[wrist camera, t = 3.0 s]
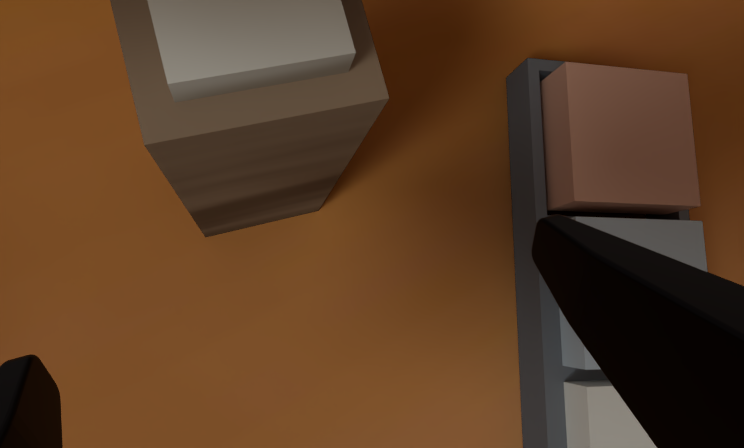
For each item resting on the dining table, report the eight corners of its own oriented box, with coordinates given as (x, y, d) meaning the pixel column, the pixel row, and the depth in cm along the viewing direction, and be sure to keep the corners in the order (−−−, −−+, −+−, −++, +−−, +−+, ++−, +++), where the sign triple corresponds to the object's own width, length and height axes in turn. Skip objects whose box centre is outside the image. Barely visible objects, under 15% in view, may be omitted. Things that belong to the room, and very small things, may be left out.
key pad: (682, 526, 23) (755, 563, 20) (527, 541, 22) (577, 584, 18) (644, 90, 26) (701, 57, 23) (506, 77, 25) (545, 40, 21)
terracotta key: (664, 214, 24) (700, 206, 22) (546, 210, 22) (574, 200, 20) (653, 92, 24) (687, 73, 23) (539, 82, 23) (565, 61, 21)
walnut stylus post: (318, 210, 22) (400, 80, 10) (205, 237, 21) (134, 129, 9) (290, 106, 22) (334, -147, 10) (178, 127, 21) (73, -127, 9)
